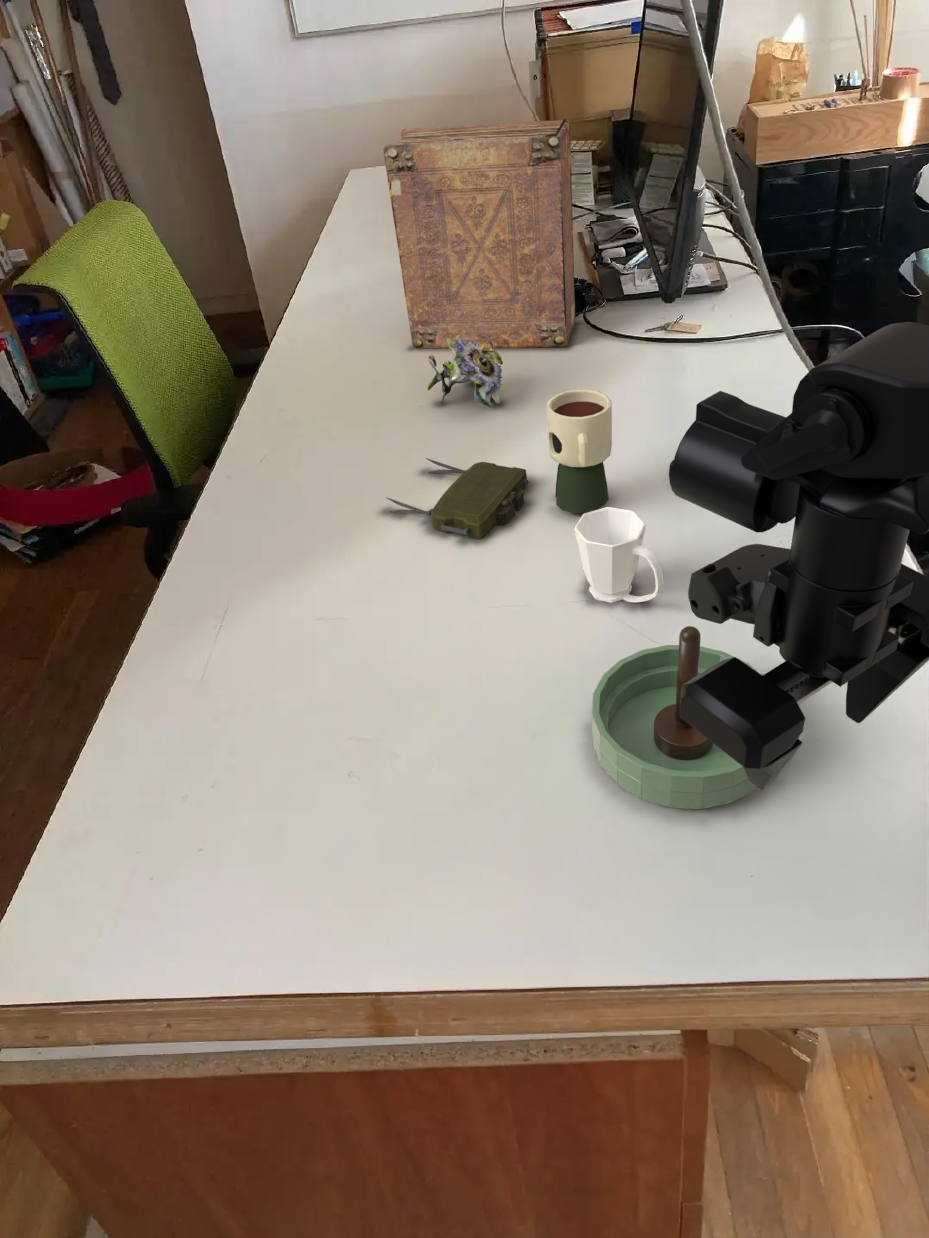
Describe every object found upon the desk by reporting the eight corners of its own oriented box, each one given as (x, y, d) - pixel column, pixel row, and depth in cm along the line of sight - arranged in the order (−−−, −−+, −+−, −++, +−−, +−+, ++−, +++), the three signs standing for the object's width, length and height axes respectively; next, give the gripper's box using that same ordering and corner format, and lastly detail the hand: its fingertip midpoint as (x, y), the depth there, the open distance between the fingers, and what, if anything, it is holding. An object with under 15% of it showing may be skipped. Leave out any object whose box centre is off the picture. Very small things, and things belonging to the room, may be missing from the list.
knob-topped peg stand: (720, 726, 80) (731, 615, 72) (704, 767, 77) (714, 656, 69) (663, 711, 82) (668, 602, 74) (645, 751, 79) (648, 641, 71)
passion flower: (496, 437, 135) (503, 397, 124) (422, 429, 135) (421, 389, 124) (502, 368, 138) (509, 322, 127) (429, 360, 138) (430, 314, 127)
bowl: (792, 705, 82) (798, 667, 79) (751, 836, 72) (756, 799, 69) (626, 665, 88) (626, 629, 85) (567, 781, 78) (565, 745, 75)
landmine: (488, 527, 103) (375, 503, 110) (490, 546, 105) (379, 521, 112) (540, 464, 113) (434, 445, 119) (542, 483, 114) (437, 463, 121)
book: (411, 348, 150) (381, 146, 131) (426, 325, 157) (399, 129, 137) (567, 347, 144) (559, 135, 125) (576, 323, 150) (569, 118, 131)
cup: (607, 561, 101) (606, 498, 96) (681, 599, 95) (685, 533, 89) (562, 591, 97) (559, 528, 92) (636, 633, 91) (637, 567, 86)
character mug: (548, 482, 114) (543, 384, 106) (606, 476, 114) (605, 378, 106) (555, 532, 106) (549, 430, 98) (618, 526, 105) (617, 424, 97)
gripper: (838, 447, 60) (806, 630, 70) (617, 562, 53) (617, 746, 63) (1000, 518, 53) (939, 711, 63) (767, 663, 46) (740, 854, 56)
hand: (806, 750), depth 61 cm, fingers open, 9 cm apart
